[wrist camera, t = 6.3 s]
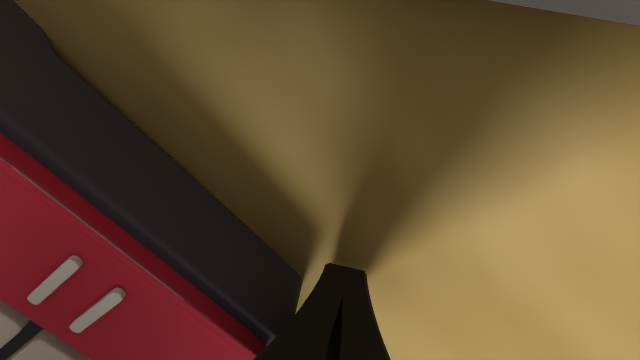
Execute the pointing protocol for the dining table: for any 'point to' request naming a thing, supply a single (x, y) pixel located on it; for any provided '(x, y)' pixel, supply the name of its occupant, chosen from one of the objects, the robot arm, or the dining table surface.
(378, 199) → the dining table surface
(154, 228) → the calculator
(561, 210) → the dining table surface
